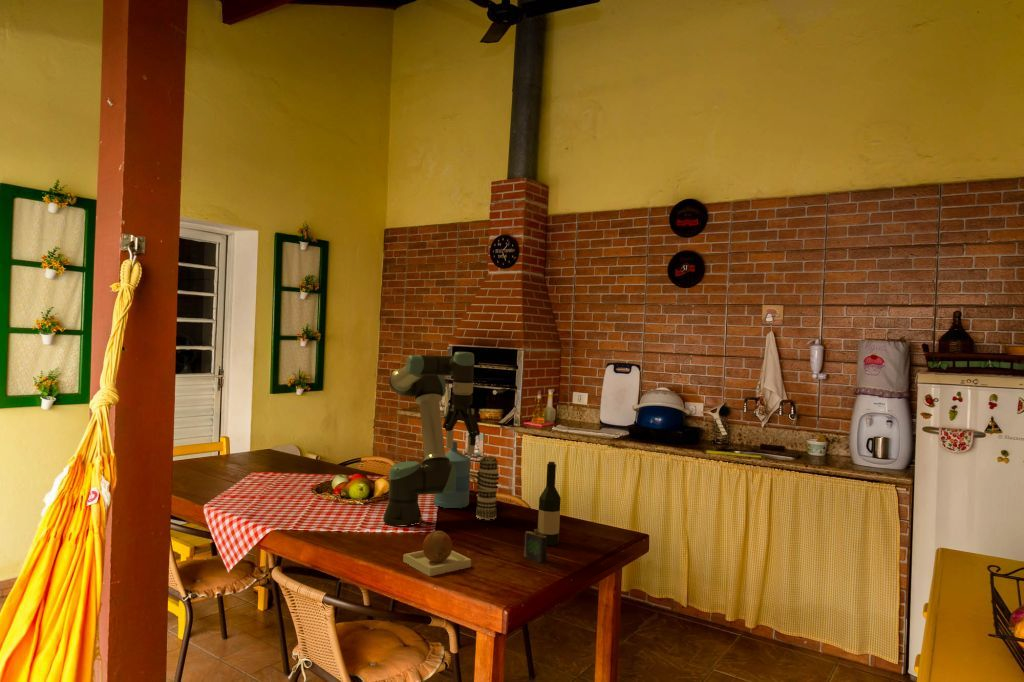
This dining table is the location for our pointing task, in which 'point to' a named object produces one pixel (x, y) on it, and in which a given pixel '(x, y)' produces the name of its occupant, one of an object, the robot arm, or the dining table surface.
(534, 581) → the dining table surface
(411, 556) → the dish
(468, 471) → the water jug
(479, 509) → the decorative candle
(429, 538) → the onion
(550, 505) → the wine bottle
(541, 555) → the flask
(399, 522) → the robot arm
